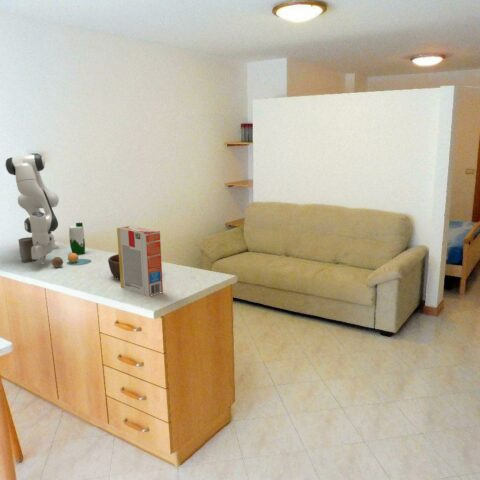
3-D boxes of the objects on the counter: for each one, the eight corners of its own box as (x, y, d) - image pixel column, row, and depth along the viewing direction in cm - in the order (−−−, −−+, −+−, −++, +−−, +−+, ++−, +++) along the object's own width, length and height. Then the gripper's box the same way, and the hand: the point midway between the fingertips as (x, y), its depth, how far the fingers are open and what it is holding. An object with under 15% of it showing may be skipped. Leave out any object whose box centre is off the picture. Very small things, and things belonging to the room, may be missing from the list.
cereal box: (162, 292, 219) (159, 231, 213) (149, 296, 213) (145, 233, 207) (134, 283, 234) (130, 225, 228) (120, 287, 228) (116, 228, 222)
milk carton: (86, 254, 296) (83, 223, 292) (71, 255, 293) (68, 225, 289) (84, 251, 304) (82, 221, 300) (70, 252, 301) (67, 222, 296)
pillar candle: (41, 258, 286) (38, 235, 283) (32, 262, 277) (29, 238, 274) (26, 258, 287) (23, 235, 284) (17, 262, 278) (14, 238, 275)
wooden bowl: (145, 283, 234) (144, 264, 231) (100, 281, 239) (99, 262, 236) (163, 270, 258) (162, 252, 255) (122, 268, 262) (121, 250, 260)
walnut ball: (63, 259, 263) (66, 262, 269) (55, 253, 264) (57, 256, 269) (56, 268, 261) (59, 270, 267) (48, 262, 262) (51, 264, 267)
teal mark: (66, 260, 280) (66, 260, 280) (90, 258, 285) (90, 258, 285) (67, 266, 268) (67, 265, 267) (92, 263, 273) (92, 263, 273)
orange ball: (69, 250, 276) (79, 253, 278) (66, 260, 276) (76, 262, 279) (69, 253, 270) (79, 255, 272) (66, 263, 271) (77, 265, 273)
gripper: (38, 244, 255) (40, 268, 258) (53, 236, 275) (55, 258, 278) (27, 244, 256) (29, 268, 258) (42, 236, 276) (45, 259, 278)
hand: (43, 263), depth 269 cm, fingers closed
